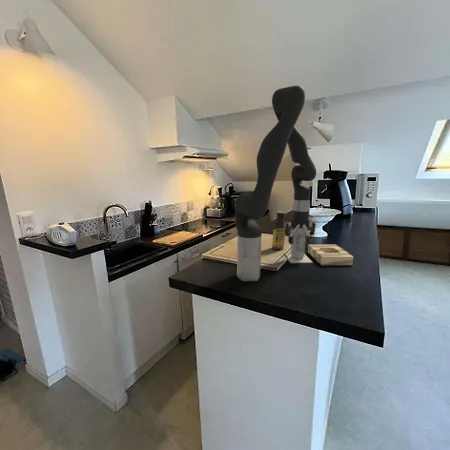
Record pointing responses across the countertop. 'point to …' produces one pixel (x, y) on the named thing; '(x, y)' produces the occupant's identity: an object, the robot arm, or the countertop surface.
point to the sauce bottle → (279, 232)
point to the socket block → (330, 255)
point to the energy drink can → (298, 244)
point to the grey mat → (300, 260)
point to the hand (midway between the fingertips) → (298, 243)
